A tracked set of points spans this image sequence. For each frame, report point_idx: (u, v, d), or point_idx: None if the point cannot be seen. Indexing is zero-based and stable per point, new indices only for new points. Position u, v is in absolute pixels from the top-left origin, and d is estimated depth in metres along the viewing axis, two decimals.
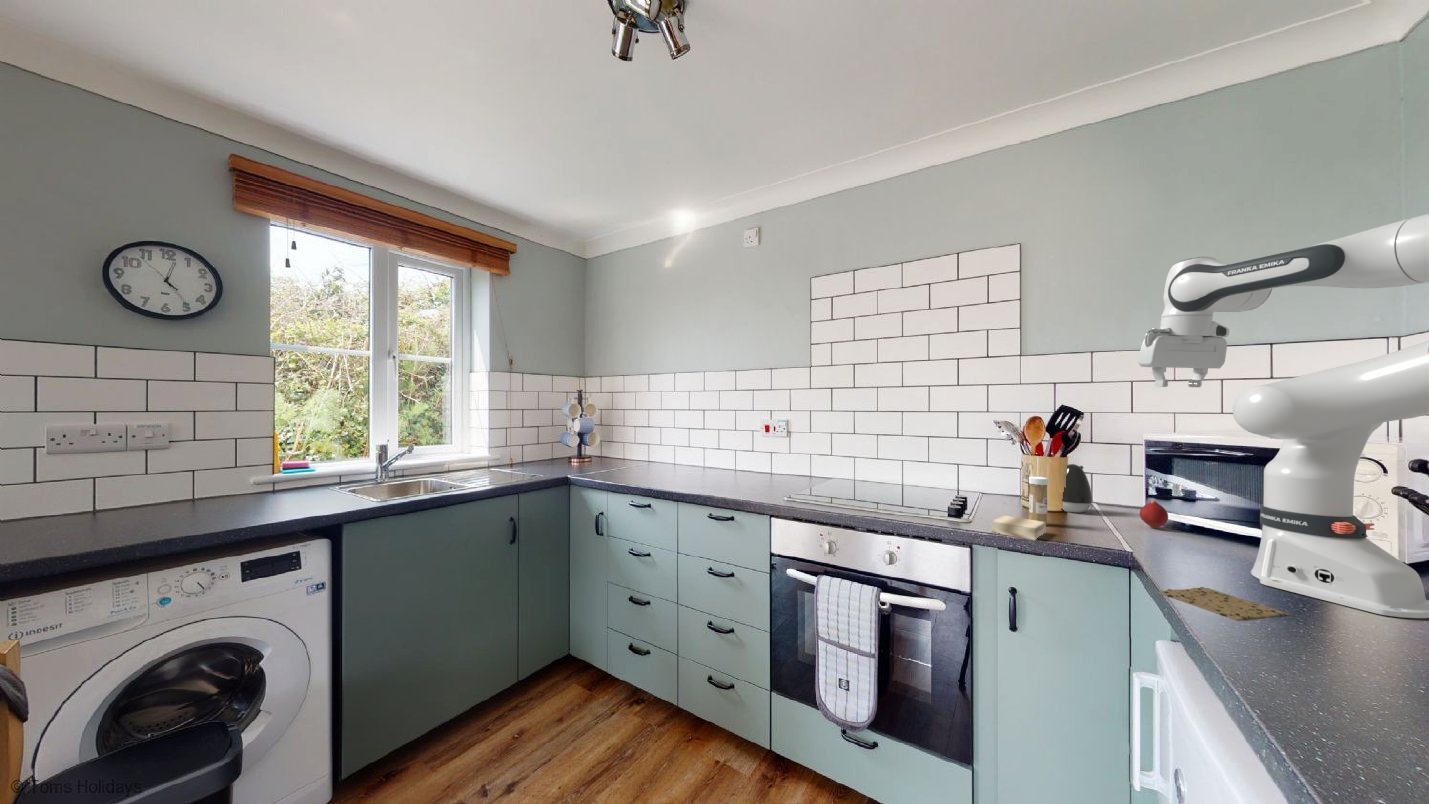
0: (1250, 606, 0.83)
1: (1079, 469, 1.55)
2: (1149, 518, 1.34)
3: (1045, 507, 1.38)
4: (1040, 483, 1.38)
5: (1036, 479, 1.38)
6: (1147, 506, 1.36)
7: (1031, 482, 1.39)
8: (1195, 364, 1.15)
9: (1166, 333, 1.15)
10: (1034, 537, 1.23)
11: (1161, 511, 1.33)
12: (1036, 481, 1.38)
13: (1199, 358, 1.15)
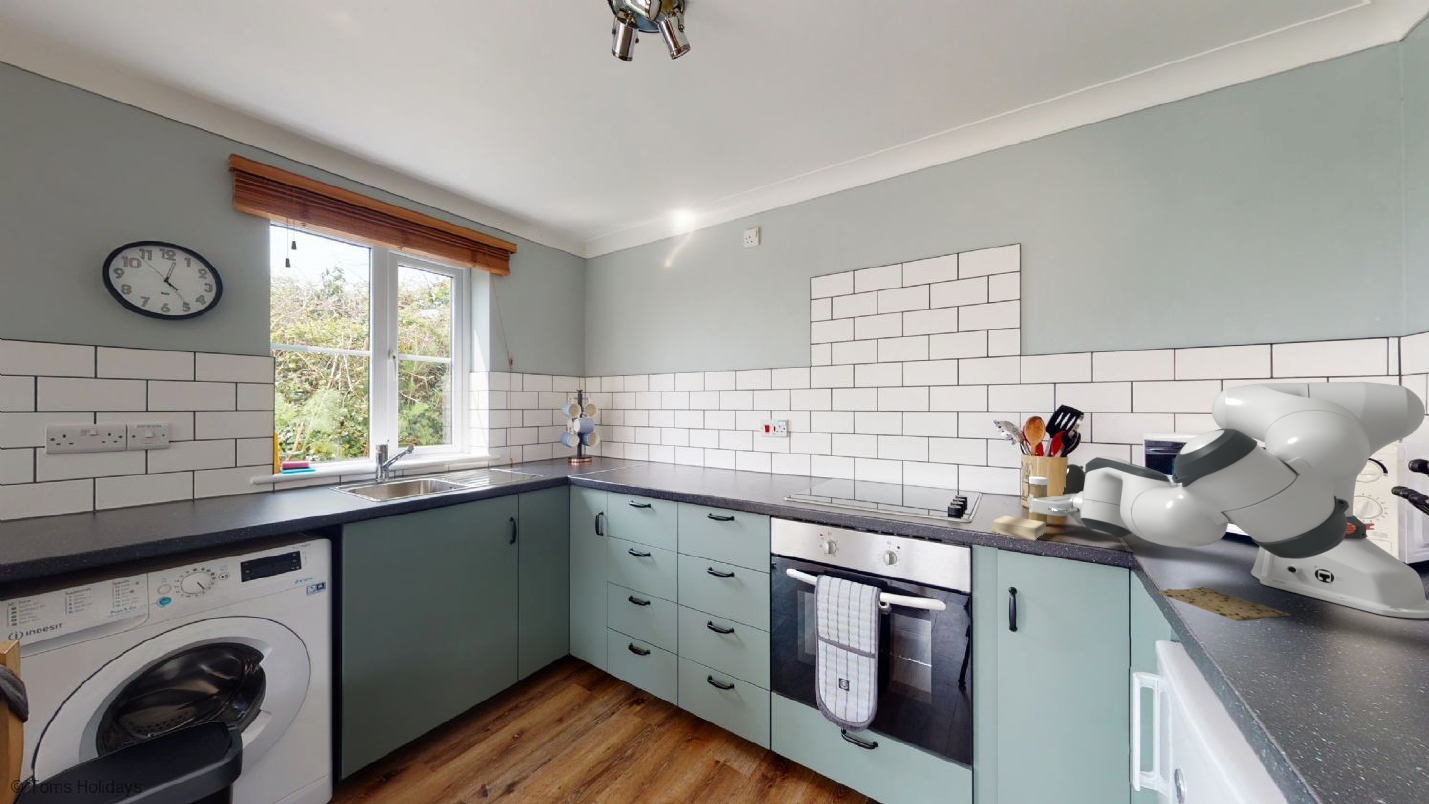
0: (1250, 606, 0.83)
1: (1079, 469, 1.55)
2: None
3: None
4: (1039, 483, 1.38)
5: (1036, 479, 1.38)
6: None
7: (1031, 482, 1.39)
8: None
9: None
10: (1034, 537, 1.23)
11: None
12: (1036, 481, 1.38)
13: None
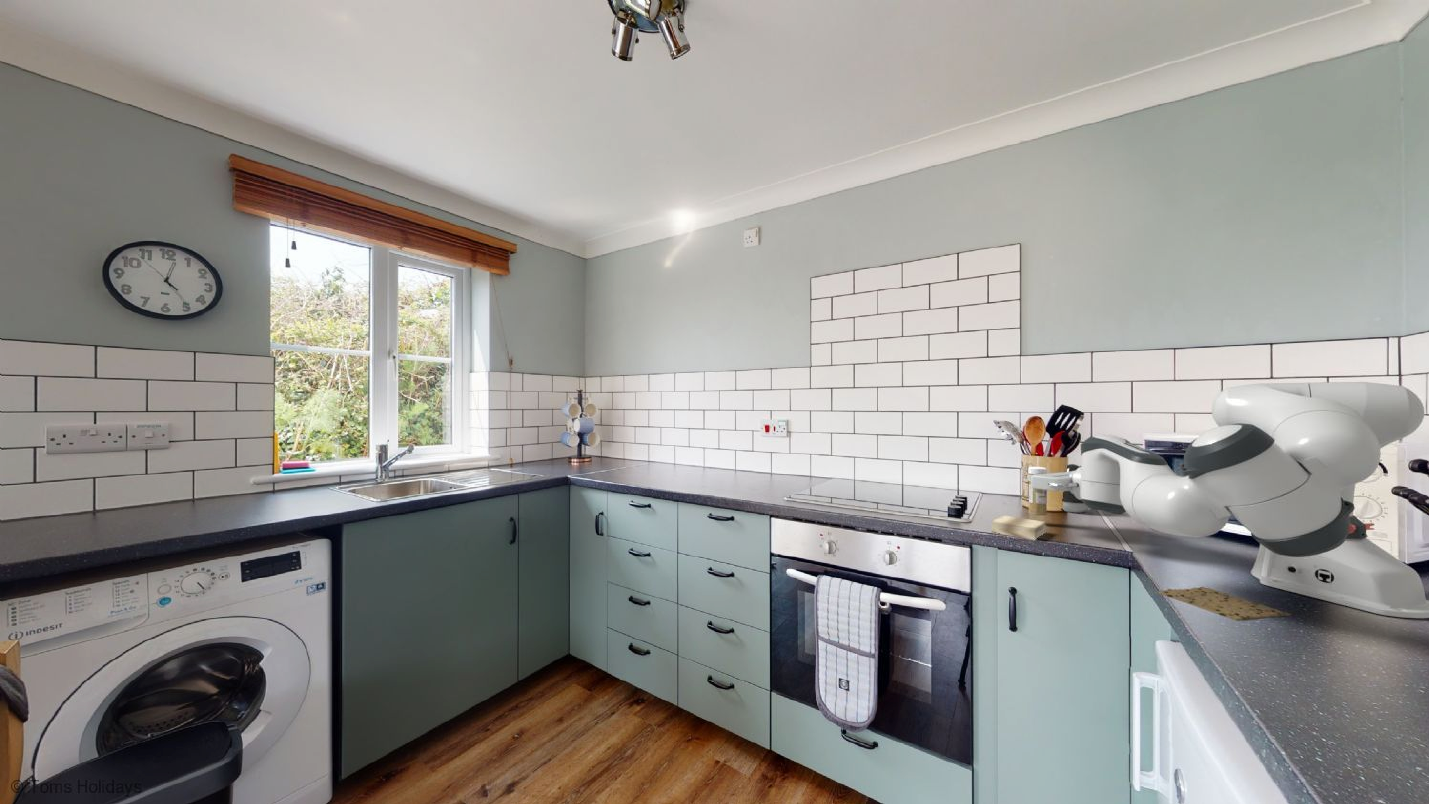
0: (1250, 606, 0.83)
1: None
2: None
3: (1045, 497, 1.38)
4: (1039, 473, 1.38)
5: (1036, 469, 1.38)
6: None
7: (1031, 472, 1.39)
8: None
9: None
10: (1034, 537, 1.23)
11: None
12: (1036, 471, 1.38)
13: None
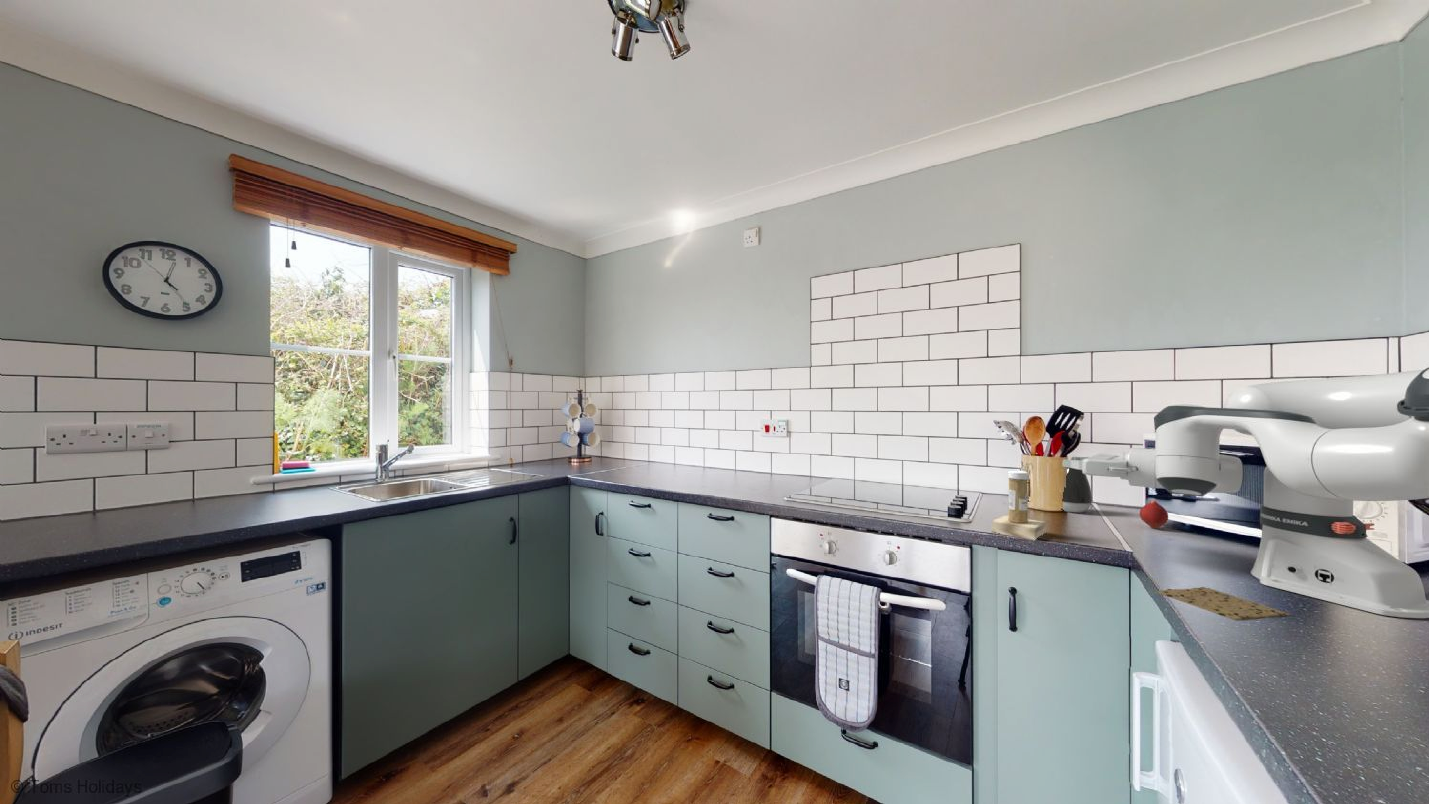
0: (1250, 606, 0.83)
1: None
2: (1149, 518, 1.34)
3: (1027, 503, 1.28)
4: (1023, 478, 1.28)
5: (1019, 473, 1.28)
6: (1147, 506, 1.36)
7: (1013, 477, 1.29)
8: None
9: None
10: (1034, 537, 1.23)
11: (1161, 511, 1.33)
12: (1019, 475, 1.28)
13: None
